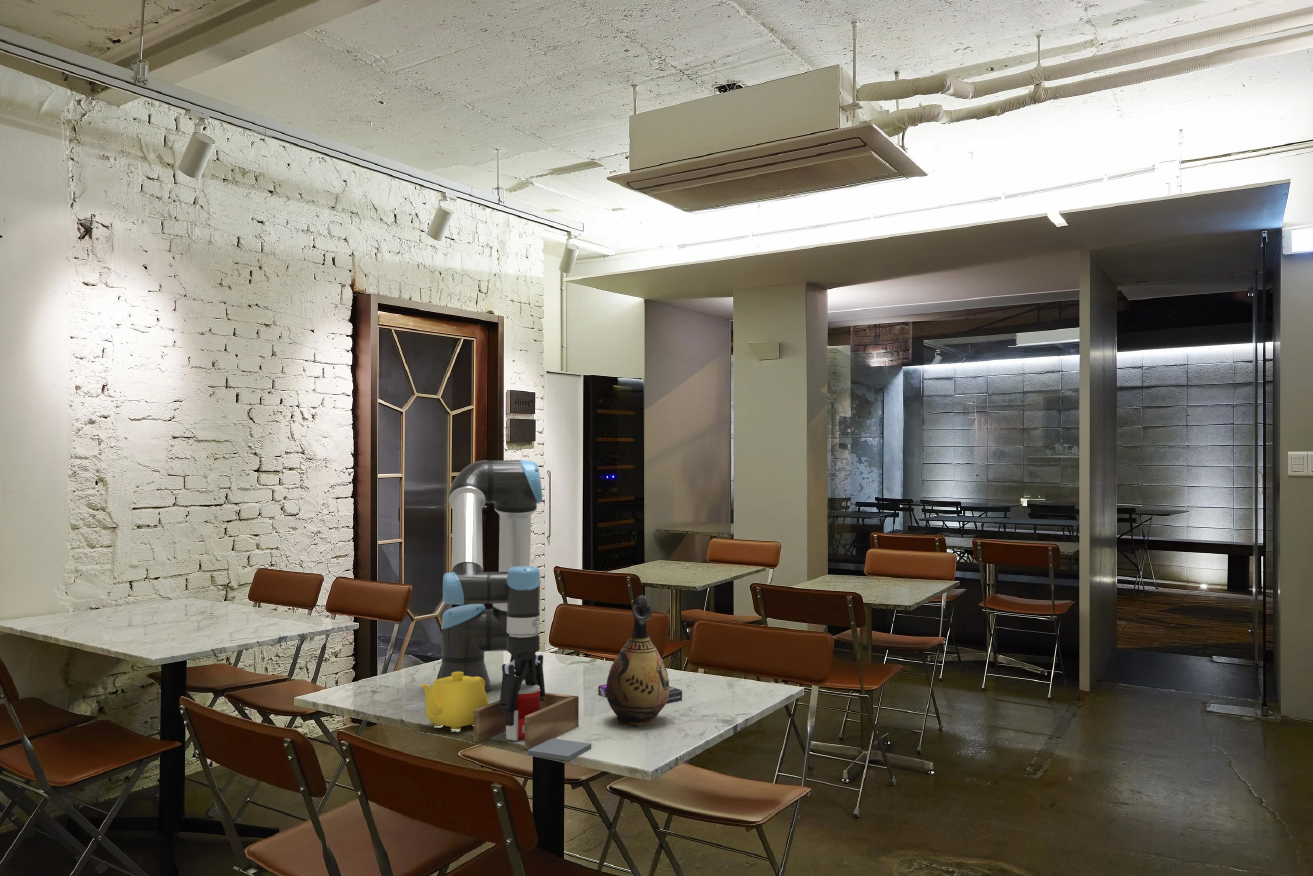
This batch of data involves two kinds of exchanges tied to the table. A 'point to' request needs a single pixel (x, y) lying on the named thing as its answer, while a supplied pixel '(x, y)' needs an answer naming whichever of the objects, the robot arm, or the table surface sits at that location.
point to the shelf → (531, 719)
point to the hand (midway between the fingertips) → (522, 734)
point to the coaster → (559, 749)
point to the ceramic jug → (638, 675)
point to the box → (672, 697)
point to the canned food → (526, 705)
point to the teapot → (454, 700)
